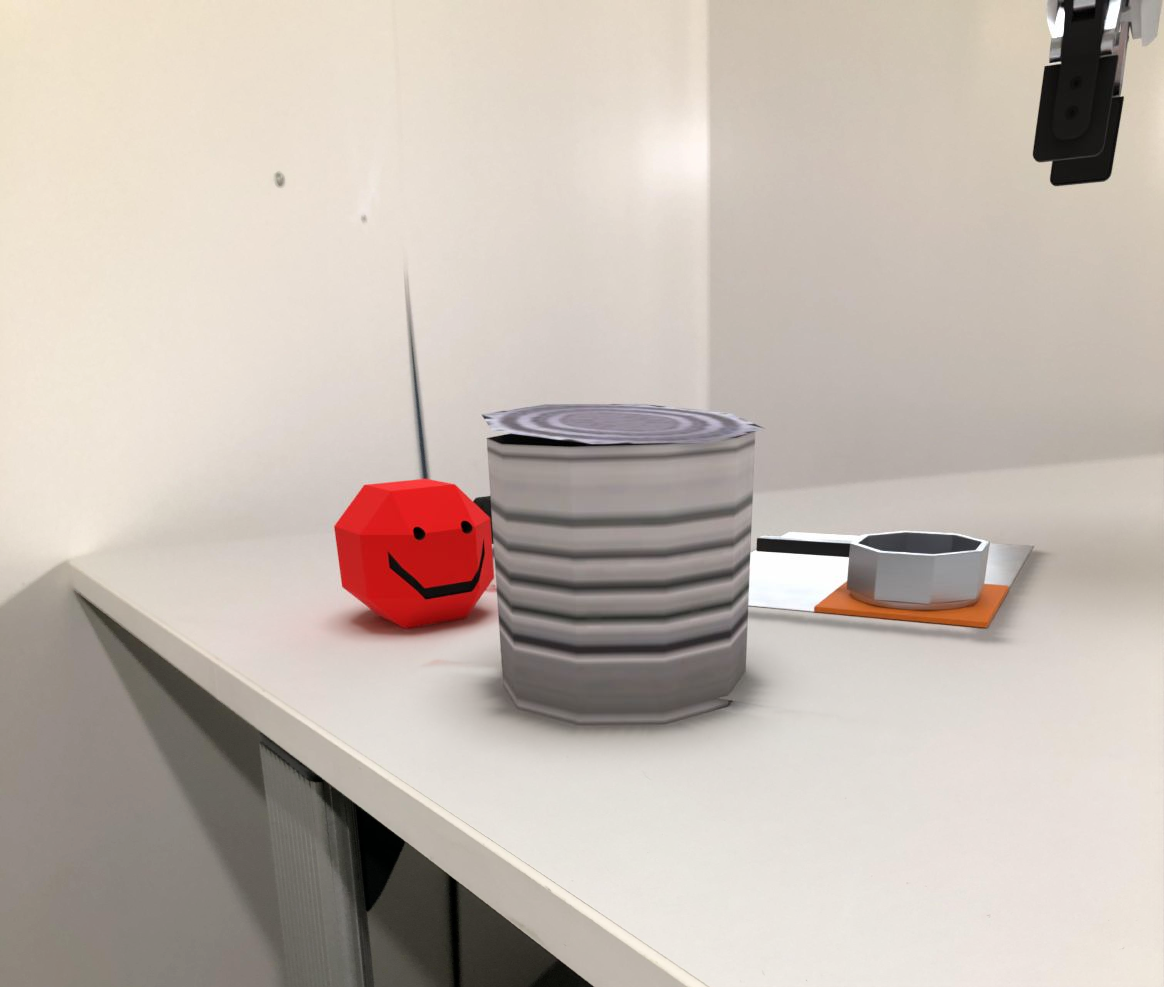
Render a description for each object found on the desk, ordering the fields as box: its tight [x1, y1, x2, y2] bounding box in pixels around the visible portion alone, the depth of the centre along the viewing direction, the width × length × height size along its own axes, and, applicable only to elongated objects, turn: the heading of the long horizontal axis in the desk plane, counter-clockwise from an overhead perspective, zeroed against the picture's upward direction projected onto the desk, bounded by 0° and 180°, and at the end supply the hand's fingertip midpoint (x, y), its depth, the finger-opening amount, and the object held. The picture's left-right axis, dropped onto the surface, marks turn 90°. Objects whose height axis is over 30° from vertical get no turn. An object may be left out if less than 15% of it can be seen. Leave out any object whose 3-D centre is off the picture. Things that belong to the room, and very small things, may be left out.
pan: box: [755, 530, 991, 611], centre depth 55 cm, size 13×7×3 cm, turn 61°
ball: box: [333, 478, 495, 630], centre depth 55 cm, size 8×8×8 cm
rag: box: [814, 581, 1010, 628], centre depth 54 cm, size 9×9×1 cm
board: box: [748, 531, 1035, 630], centre depth 63 cm, size 24×18×1 cm
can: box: [481, 403, 766, 726], centre depth 42 cm, size 11×11×12 cm
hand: (1073, 171), depth 52 cm, fingers open, 9 cm apart
